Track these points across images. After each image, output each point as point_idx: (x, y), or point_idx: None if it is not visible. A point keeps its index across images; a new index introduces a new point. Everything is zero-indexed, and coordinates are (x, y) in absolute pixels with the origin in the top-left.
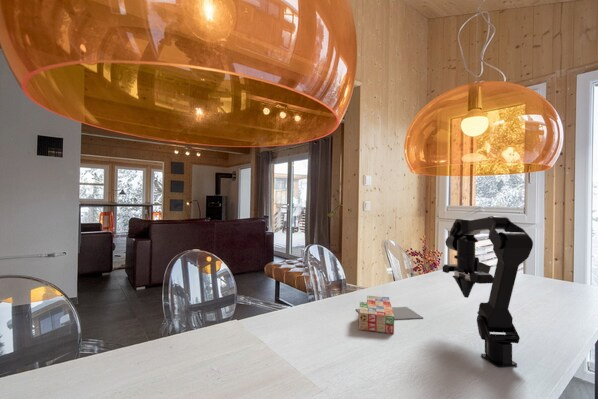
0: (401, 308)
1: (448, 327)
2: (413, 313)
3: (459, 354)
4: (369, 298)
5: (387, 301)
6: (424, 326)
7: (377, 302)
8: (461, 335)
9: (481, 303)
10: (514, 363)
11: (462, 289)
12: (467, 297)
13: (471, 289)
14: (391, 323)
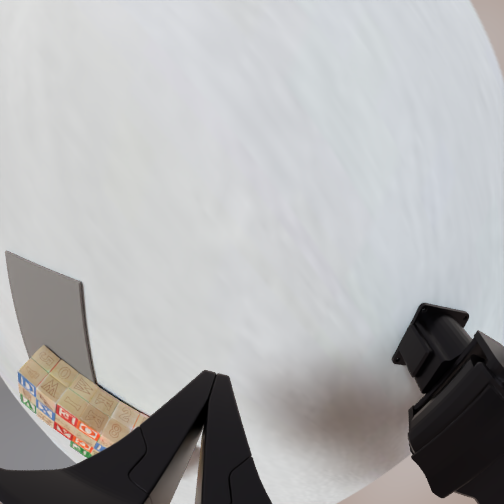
0: (16, 281)
1: (171, 264)
2: (47, 282)
3: (349, 396)
4: (42, 418)
5: (53, 406)
6: (145, 339)
7: (65, 427)
8: (256, 285)
9: (443, 495)
10: (464, 320)
11: (186, 463)
12: (227, 380)
13: (250, 451)
14: None
